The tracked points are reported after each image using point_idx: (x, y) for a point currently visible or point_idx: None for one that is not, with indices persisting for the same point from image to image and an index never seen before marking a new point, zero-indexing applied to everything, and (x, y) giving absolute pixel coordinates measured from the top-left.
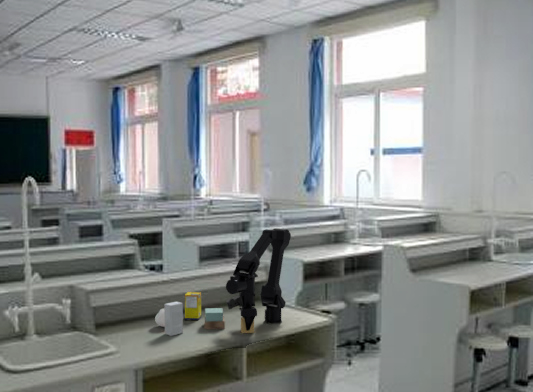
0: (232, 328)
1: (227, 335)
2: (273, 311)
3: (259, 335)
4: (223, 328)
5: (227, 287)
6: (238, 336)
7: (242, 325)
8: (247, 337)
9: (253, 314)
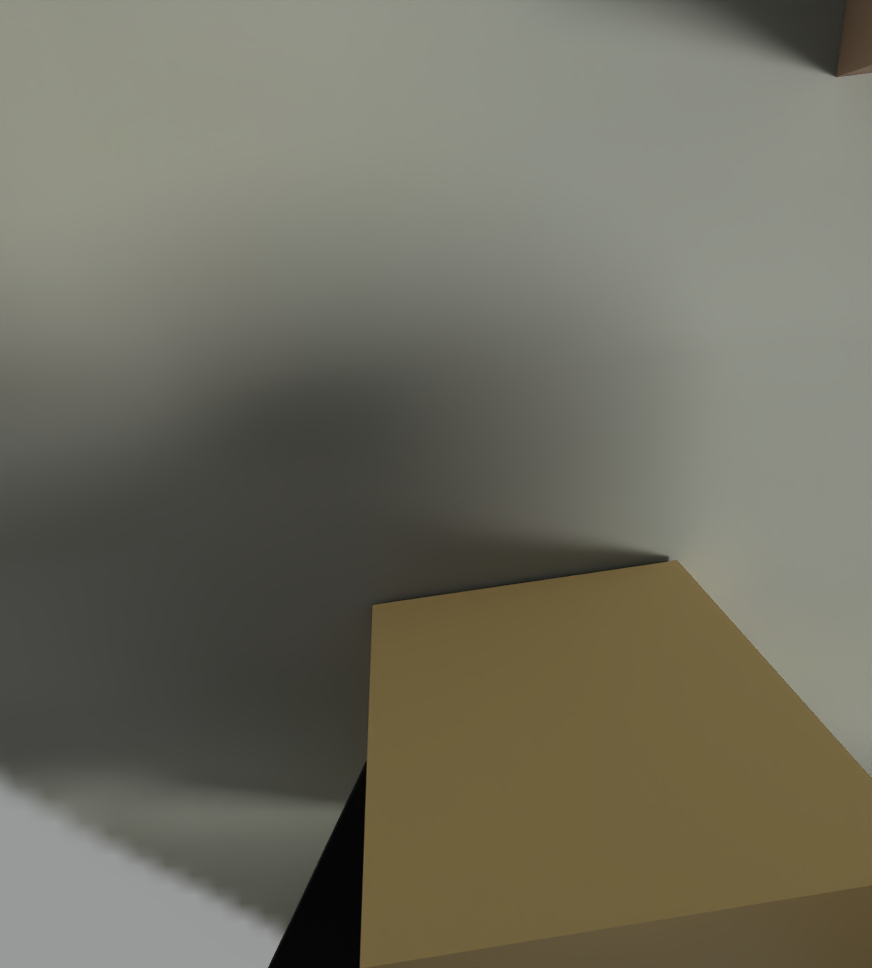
0: (815, 342)
1: (88, 254)
2: None
3: (258, 895)
4: (848, 26)
5: None
6: (80, 565)
7: (372, 785)
8: (62, 744)
9: None
